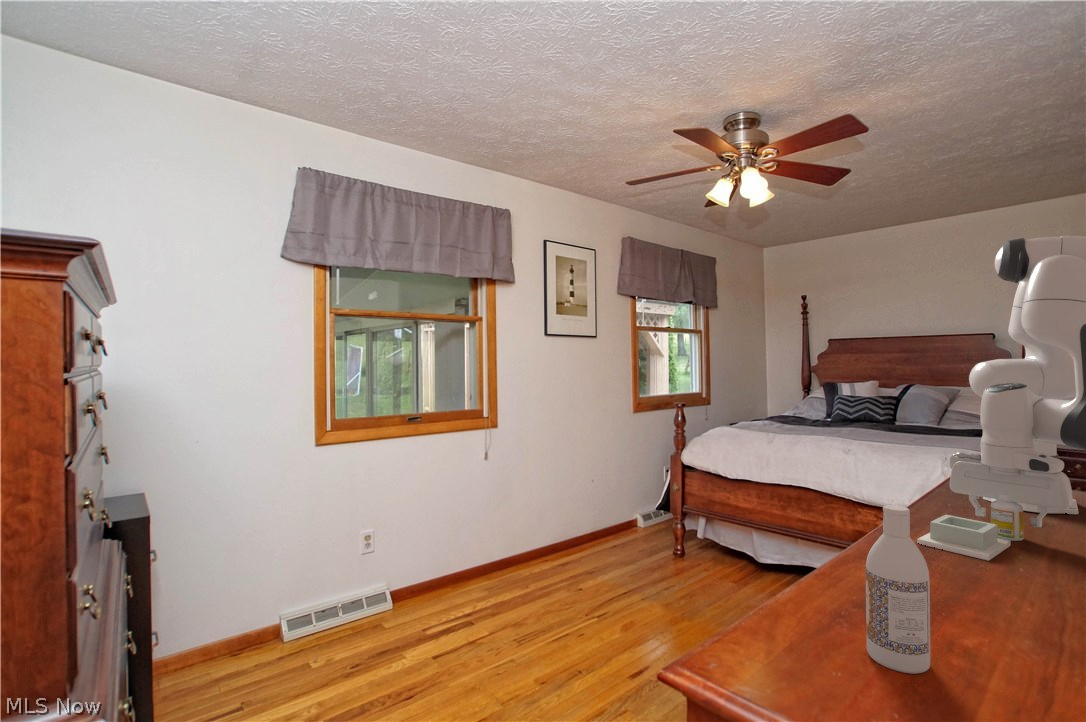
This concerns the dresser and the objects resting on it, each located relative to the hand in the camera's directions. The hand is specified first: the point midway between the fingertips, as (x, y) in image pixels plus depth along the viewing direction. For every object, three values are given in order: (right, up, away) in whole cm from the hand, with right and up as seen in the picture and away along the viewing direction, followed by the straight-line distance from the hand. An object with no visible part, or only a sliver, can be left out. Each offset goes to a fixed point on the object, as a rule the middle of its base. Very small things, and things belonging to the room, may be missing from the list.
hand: (1007, 520), depth 116 cm
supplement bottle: (0, -4, 0) cm, 4 cm away
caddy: (-13, -4, -4) cm, 14 cm away
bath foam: (-55, -4, -46) cm, 72 cm away
